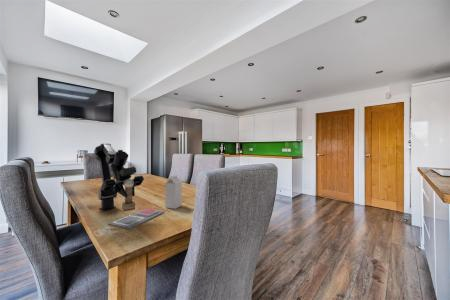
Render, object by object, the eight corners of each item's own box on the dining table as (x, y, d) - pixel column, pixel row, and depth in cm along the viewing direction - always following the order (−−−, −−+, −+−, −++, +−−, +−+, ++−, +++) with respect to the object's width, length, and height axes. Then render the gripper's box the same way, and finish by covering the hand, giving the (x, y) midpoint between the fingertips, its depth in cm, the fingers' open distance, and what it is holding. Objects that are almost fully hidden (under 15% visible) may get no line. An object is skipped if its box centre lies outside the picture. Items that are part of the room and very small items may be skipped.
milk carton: (181, 205, 118) (181, 175, 118) (175, 209, 111) (175, 177, 111) (172, 204, 120) (172, 175, 120) (165, 207, 113) (165, 176, 113)
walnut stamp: (122, 208, 93) (122, 178, 92) (133, 206, 96) (133, 177, 95) (123, 211, 89) (123, 180, 88) (135, 209, 92) (135, 179, 91)
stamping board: (107, 224, 88) (107, 220, 88) (144, 209, 110) (144, 206, 110) (130, 229, 83) (130, 225, 83) (164, 212, 105) (164, 209, 105)
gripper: (104, 162, 87) (115, 189, 80) (142, 160, 102) (154, 183, 95) (97, 178, 91) (107, 204, 85) (134, 174, 106) (145, 196, 100)
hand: (130, 196), depth 91 cm, fingers closed on walnut stamp, 3 cm apart
